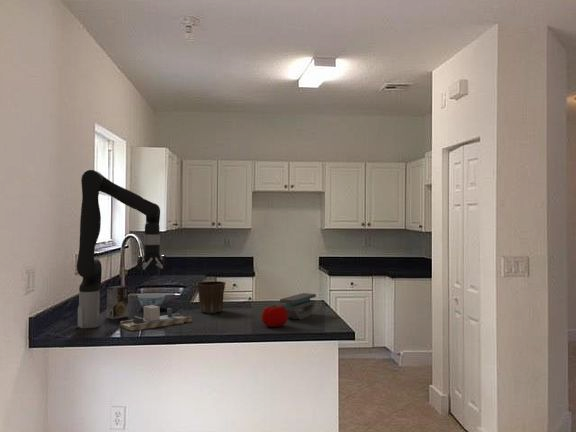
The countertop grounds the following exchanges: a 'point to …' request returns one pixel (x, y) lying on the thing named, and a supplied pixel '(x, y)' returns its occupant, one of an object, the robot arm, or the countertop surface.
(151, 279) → the countertop surface
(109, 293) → the coffee box
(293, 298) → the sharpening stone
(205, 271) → the countertop surface
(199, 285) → the plant pot
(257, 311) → the countertop surface
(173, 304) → the countertop surface
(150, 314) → the link block
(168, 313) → the carriage
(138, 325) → the rail base
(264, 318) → the tomato
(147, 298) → the chinaware
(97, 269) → the robot arm
